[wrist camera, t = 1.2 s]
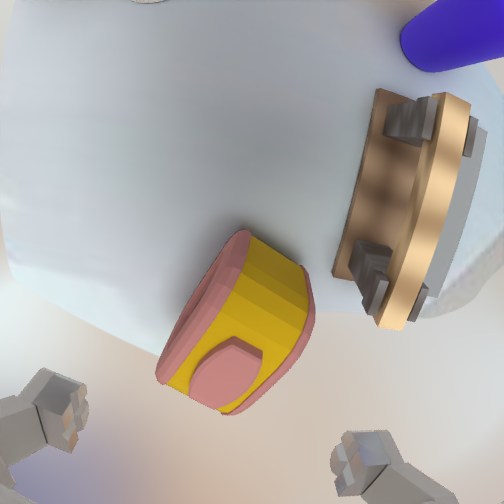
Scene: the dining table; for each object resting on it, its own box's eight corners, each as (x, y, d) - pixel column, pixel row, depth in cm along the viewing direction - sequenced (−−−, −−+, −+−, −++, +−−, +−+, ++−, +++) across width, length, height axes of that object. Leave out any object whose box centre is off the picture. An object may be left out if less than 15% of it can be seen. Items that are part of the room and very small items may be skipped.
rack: (376, 89, 34) (422, 72, 21) (428, 108, 34) (487, 105, 21) (331, 272, 44) (351, 329, 31) (381, 282, 44) (415, 337, 31)
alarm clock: (244, 214, 42) (220, 280, 24) (311, 258, 43) (333, 346, 25) (180, 311, 48) (137, 401, 30) (240, 346, 50) (224, 443, 32)
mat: (443, 111, 34) (446, 111, 33) (484, 131, 34) (487, 131, 33) (394, 287, 44) (396, 290, 43) (435, 295, 44) (437, 297, 43)
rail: (431, 94, 24) (446, 91, 21) (455, 105, 24) (471, 104, 21) (370, 312, 33) (377, 327, 30) (393, 315, 33) (401, 330, 30)
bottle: (399, 68, 33) (568, 9, 5) (395, 15, 30) (528, -85, 2) (450, 79, 32) (622, 62, 4) (446, 28, 29) (594, -28, 1)
